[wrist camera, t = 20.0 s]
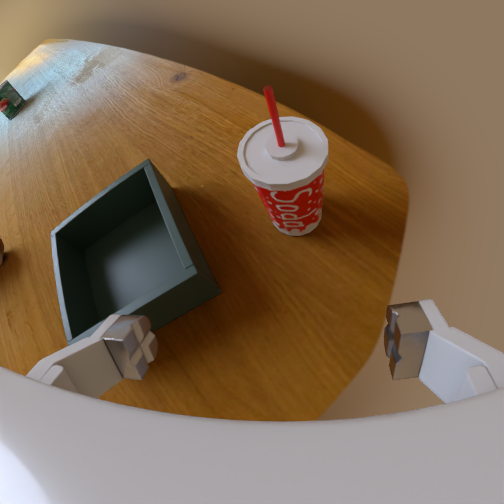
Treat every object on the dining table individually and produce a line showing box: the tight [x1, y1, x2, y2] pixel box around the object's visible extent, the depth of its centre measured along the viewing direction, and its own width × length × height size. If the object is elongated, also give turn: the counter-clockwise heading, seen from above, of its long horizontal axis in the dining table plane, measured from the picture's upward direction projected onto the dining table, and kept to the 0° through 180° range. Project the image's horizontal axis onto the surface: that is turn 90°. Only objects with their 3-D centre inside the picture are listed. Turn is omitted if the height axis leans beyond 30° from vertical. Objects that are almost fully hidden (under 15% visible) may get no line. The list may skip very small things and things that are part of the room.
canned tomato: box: [0, 80, 26, 120], centre depth 59 cm, size 8×8×11 cm
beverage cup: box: [237, 86, 328, 236], centre depth 21 cm, size 6×6×14 cm
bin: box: [51, 159, 222, 346], centre depth 26 cm, size 14×14×5 cm
